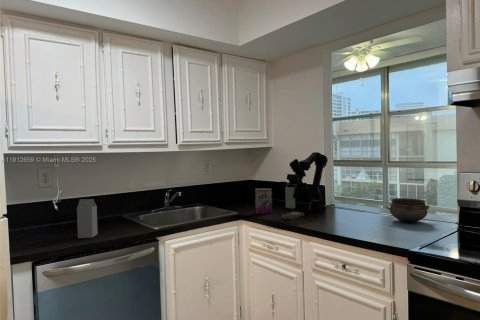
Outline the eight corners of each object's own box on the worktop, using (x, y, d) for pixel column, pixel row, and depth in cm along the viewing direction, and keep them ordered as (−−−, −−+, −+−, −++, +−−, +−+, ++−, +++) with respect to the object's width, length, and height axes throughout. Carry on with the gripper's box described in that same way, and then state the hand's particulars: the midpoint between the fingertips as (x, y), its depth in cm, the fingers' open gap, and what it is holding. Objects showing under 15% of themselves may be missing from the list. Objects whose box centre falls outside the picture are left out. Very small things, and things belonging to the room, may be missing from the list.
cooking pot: (417, 217, 192) (417, 197, 192) (440, 224, 174) (440, 202, 173) (378, 219, 190) (378, 198, 189) (397, 226, 171) (397, 204, 170)
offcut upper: (291, 214, 203) (291, 212, 203) (300, 215, 199) (300, 213, 199) (288, 215, 200) (288, 213, 200) (297, 217, 196) (297, 214, 196)
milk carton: (83, 234, 167) (82, 198, 167) (97, 234, 168) (96, 198, 167) (77, 238, 160) (76, 200, 160) (92, 237, 161) (91, 200, 160)
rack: (293, 215, 206) (293, 211, 205) (304, 216, 200) (304, 212, 200) (281, 218, 196) (281, 214, 196) (292, 220, 190) (292, 216, 190)
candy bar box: (255, 214, 212) (254, 189, 211) (255, 212, 217) (255, 188, 216) (272, 214, 211) (271, 189, 210) (272, 212, 216) (271, 188, 215)
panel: (287, 206, 198) (287, 186, 198) (295, 207, 195) (294, 187, 194) (285, 207, 197) (285, 187, 196) (293, 208, 193) (293, 187, 193)
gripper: (280, 168, 204) (270, 187, 196) (306, 169, 192) (297, 190, 184) (287, 179, 210) (278, 199, 202) (313, 181, 198) (304, 201, 190)
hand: (288, 197), depth 194 cm, fingers closed on panel, 5 cm apart
